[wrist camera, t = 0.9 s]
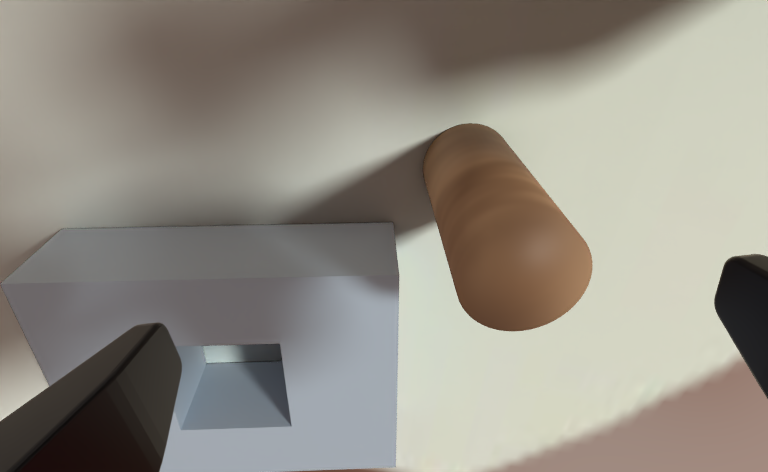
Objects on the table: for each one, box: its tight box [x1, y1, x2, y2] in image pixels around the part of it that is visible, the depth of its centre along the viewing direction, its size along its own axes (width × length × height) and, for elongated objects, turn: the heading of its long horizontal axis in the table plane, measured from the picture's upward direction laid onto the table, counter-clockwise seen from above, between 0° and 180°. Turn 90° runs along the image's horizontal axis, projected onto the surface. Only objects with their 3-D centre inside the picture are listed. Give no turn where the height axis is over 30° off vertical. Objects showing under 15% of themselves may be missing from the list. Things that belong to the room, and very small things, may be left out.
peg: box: [423, 123, 592, 331], centre depth 16 cm, size 4×4×8 cm
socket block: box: [0, 222, 399, 472], centre depth 22 cm, size 14×11×4 cm
